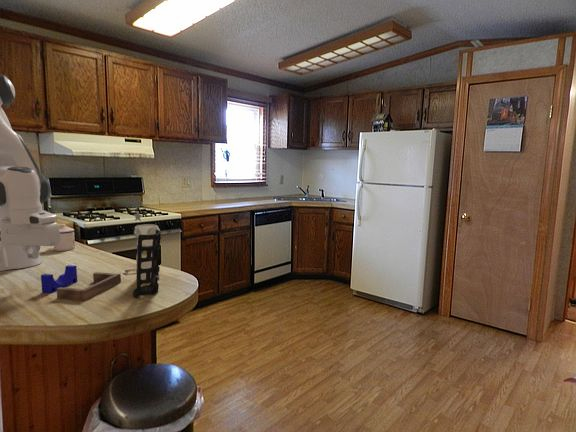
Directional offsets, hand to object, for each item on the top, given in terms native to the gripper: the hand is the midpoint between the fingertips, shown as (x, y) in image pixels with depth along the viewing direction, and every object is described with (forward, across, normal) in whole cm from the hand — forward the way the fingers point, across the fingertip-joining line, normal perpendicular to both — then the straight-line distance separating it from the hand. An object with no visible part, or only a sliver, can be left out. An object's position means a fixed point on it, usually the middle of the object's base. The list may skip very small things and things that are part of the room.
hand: (32, 258), depth 127 cm
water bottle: (+11, +32, +15) cm, 37 cm away
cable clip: (+10, +8, +1) cm, 13 cm away
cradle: (+10, +19, +1) cm, 22 cm away
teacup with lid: (+10, -32, +47) cm, 58 cm away
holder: (+11, +39, +3) cm, 41 cm away
